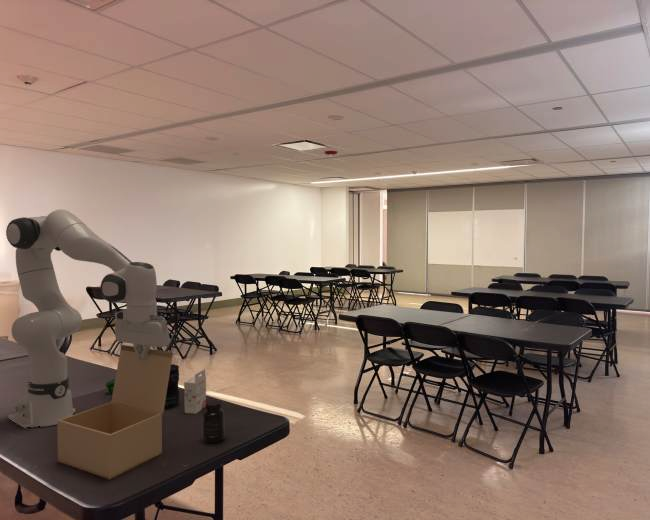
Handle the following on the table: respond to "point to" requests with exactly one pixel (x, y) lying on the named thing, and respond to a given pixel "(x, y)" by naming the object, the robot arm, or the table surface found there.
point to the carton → (109, 439)
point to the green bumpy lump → (110, 386)
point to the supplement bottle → (213, 422)
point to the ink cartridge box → (195, 393)
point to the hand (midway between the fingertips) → (142, 358)
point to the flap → (142, 379)
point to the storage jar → (172, 388)
